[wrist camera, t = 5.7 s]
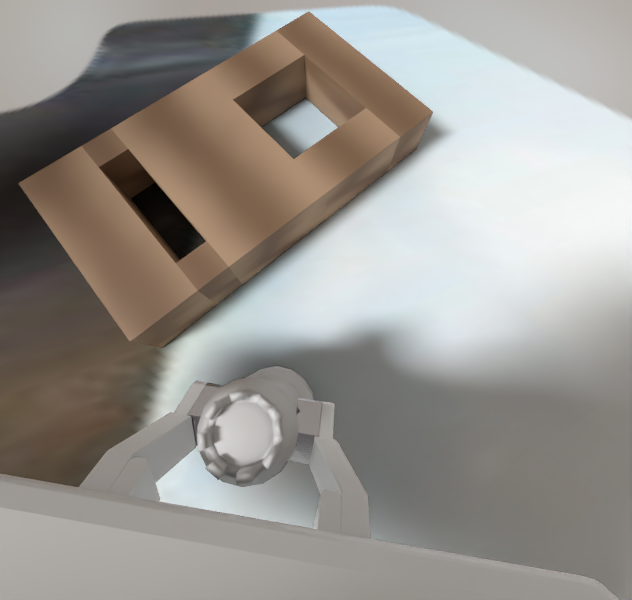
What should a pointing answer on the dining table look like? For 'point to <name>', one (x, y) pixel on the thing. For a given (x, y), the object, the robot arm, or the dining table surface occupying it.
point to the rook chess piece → (252, 426)
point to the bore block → (224, 175)
